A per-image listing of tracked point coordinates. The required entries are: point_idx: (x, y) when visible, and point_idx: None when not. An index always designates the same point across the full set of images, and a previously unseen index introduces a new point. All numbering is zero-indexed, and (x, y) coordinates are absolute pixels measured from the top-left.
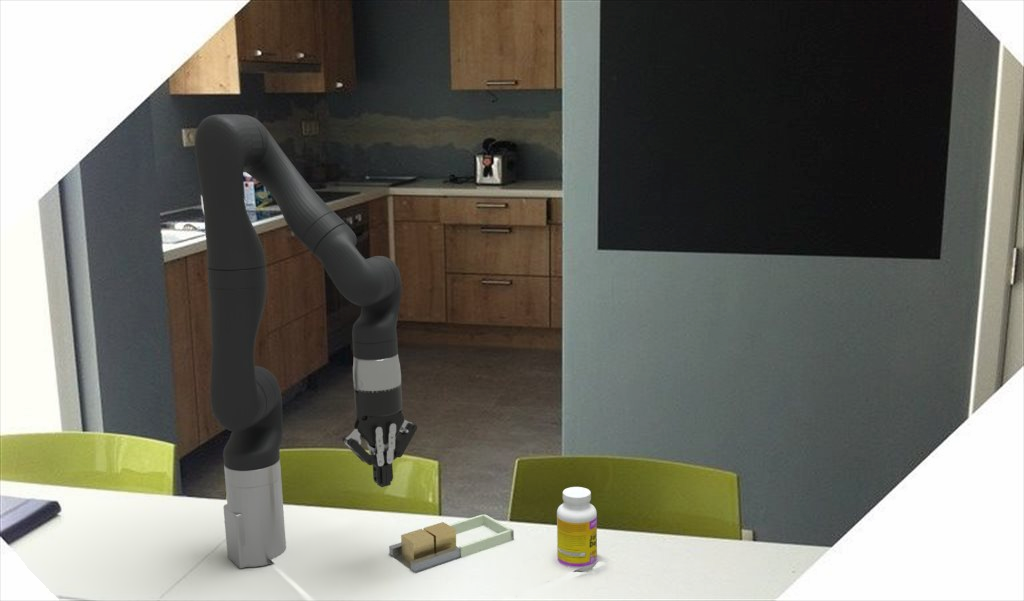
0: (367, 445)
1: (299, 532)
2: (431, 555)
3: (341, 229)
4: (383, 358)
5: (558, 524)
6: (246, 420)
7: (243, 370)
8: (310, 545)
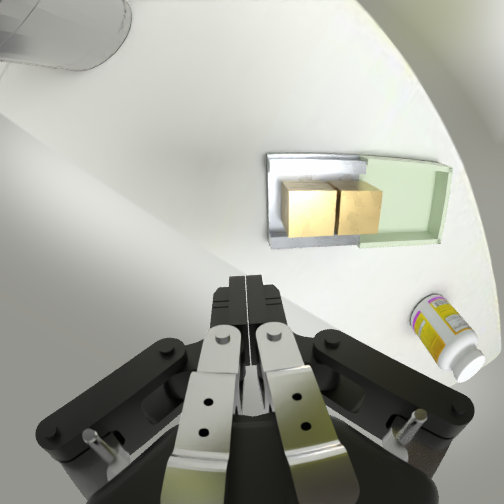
0: (189, 384)
1: None
2: (310, 238)
3: None
4: None
5: (438, 343)
6: None
7: None
8: (173, 26)
